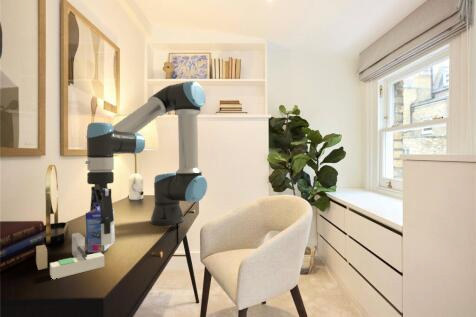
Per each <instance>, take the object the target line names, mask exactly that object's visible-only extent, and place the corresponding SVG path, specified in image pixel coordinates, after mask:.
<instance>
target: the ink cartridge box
mask: <svg viewBox="0 0 476 317" xmlns="http://www.w3.org/2000/svg"><path fill="white" fill-rule="evenodd" d="M93 204H94V206H95V208H96V209H94V210H92V211H90V210H89V211H88V212H86V213H85V232H86V233H85V234H86V235H85V236H86V238H85V239H86V252H87V253H99V252H101V253H104V252H105V251H106V250H108V249H109V248H110V247H111V246H112V245H113V244H114V243H115V242H116V234H115V232H116V231H115V220H114V221H112V222H111V244H107V245H101V224H100V221H102V218H101V212H100V206H98V207H97V206H96V204H98V203H97V202H95V203H93ZM98 205H99V204H98ZM112 208H113V217H114V218H115V208H114V206H112Z"/></svg>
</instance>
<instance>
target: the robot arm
mask: <svg viewBox="0 0 476 317" xmlns="http://www.w3.org/2000/svg"><path fill="white" fill-rule="evenodd" d="M206 101H207V100H206V93H205V91H204V89H203V87H202V86H201V84H200V83H198V82H197V81H194V80H192V81H191V80H190V81H183V82H181V83H180V82H179V83H175V84H170V85H167V86H165V87H163V88H162V89H160V90H158V91H157V92H156V93H155V94H152V95H151V96H149V98H148V99H147V101H146V102H145V103H144V104H143V105H141V106H140V107H139V108H137V109H135V110H134V111H133V112H132V113H129V114H128V115H127V116H126V117H124V118H123V119H121V120H119V121H118V122H117V123H115V124H114V125H113V124H112V123H109V122H90V123H88V125H87V127H86V128H87V129H86V137H85V138H86V151H87V152H86V153H87V154H86V156H87V160H86V161H84V163H85V165H87V166H86V167H87V168H86V170H87V171H89V172H87V175H86V176H87V177H86V178H87V179H86V180H87V184H88V185H94V186H91V188H90V190H91V192H90V193H91V195H90V196H91V197H90V207H89V212H90V211H92V210H94V209H96V208H95V206H94V204H93V203H95V202H97V203H98V204H99V205H98V204H96V206H97V207H98V206H100V212H101V218H102V221H100V224H101V245H107V244H111V222H112V221H114V222H115V216H114V217H113V208H112V207H113V200H112V199H113V198H112V188H108V184H113V183H114V182H115V181H114V180H115V178H114V171H113V170H114V169H115V166H114V165H115V163H114V162H115V160H114V155H118V154H119V155H120V154H132V155H134V154H140V153H142V152H143V151H144V149H145V147H146V139H145V137H144V135H142V134H141V133H138V132H139V131H141V130H142V129H144V128H145V127H146V126H147V125H148V124H150V123H151V122H153V121H154V120H155V119H156V118H157V117H162V116H164V115H165V114H166V113H170V112H173V111H174V113H175V114H176V116H177V122H178V123H177V124H178V128H177V129H178V130H177V132H178V169H177V170H176V171H175V172H170V173H169V172H168V173H161V174H157V175H155V177H154V181H153V188H154V189H153V190H154V192H153V194H154V207H153V210H152V214H151V216H150V223H151V224H152V225H157V226H168V225H169V226H170V225H176V224H179V223H182V222H183V221H184V214H183V211H182V208H181V204H180V202H187V203H197V202H200V201H201V200H202V199H203V198H204V196H206V193H207V190H208V182H207V180H206V179H207V178H205V176H203V174H202V170H201V169H200V168H199V147H198V146H199V145H198V143H199V142H198V140H199V139H198V138H199V137H198V132H199V131H198V116H199V114H201V107H202V108H203V106H204V105H205V104H206Z"/></svg>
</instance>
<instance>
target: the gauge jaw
mask: <svg viewBox="0 0 476 317" xmlns="http://www.w3.org/2000/svg"><path fill="white" fill-rule="evenodd" d="M71 254H72V256H73V258H76V257H80V256H82V255H83V257H84V258H85V257H87V255H88V254H87V253H86V238H85V236H84V235H82V234H81V232H74V233H71Z"/></svg>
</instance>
